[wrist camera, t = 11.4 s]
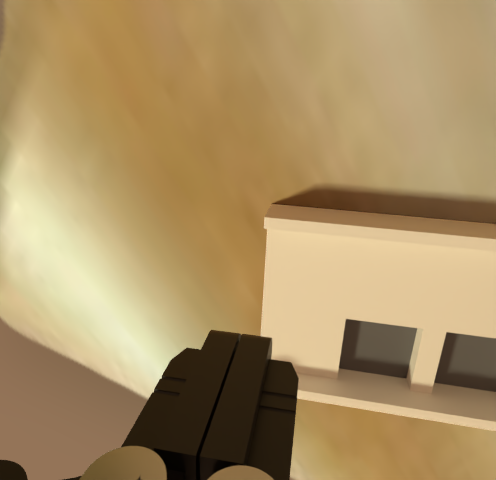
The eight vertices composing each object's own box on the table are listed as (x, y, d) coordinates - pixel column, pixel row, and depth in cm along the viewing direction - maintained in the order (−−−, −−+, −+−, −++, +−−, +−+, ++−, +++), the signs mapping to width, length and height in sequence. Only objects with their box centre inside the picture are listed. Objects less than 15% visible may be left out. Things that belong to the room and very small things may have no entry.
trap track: (271, 203, 38) (264, 217, 34) (661, 238, 33) (709, 259, 29) (261, 363, 44) (254, 391, 40) (587, 413, 39) (618, 451, 35)
